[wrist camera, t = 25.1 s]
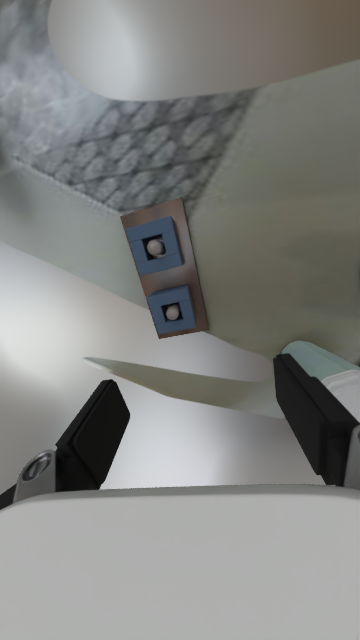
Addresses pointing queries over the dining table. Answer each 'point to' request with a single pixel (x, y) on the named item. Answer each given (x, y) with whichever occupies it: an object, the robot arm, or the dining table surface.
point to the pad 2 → (159, 309)
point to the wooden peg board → (172, 275)
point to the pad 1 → (151, 231)
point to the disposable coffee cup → (330, 373)
